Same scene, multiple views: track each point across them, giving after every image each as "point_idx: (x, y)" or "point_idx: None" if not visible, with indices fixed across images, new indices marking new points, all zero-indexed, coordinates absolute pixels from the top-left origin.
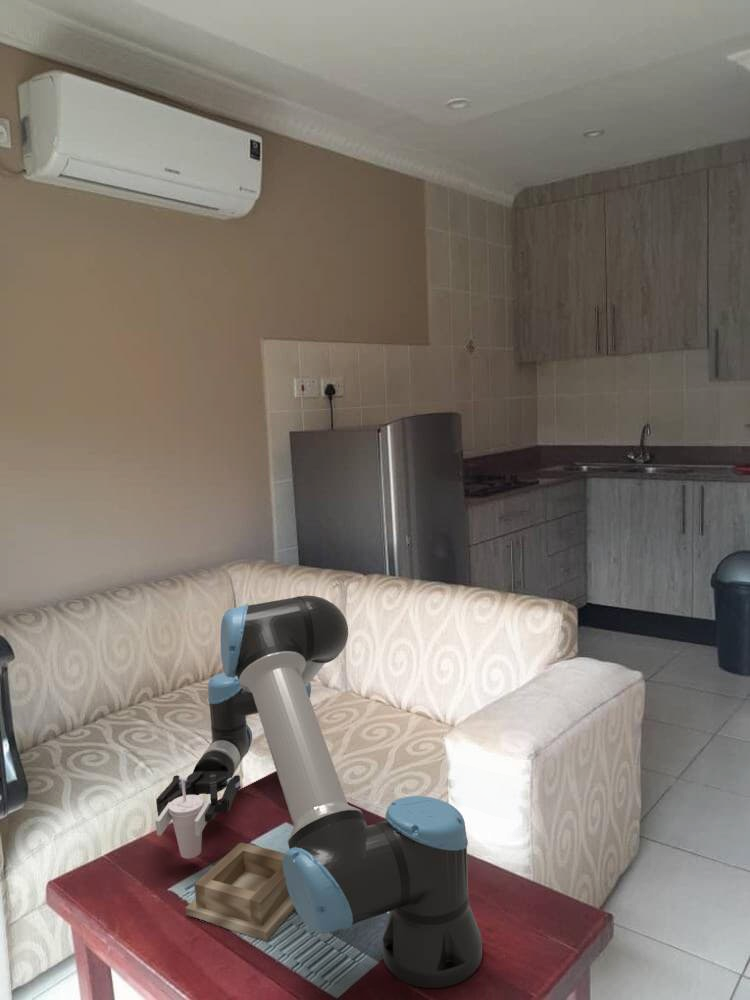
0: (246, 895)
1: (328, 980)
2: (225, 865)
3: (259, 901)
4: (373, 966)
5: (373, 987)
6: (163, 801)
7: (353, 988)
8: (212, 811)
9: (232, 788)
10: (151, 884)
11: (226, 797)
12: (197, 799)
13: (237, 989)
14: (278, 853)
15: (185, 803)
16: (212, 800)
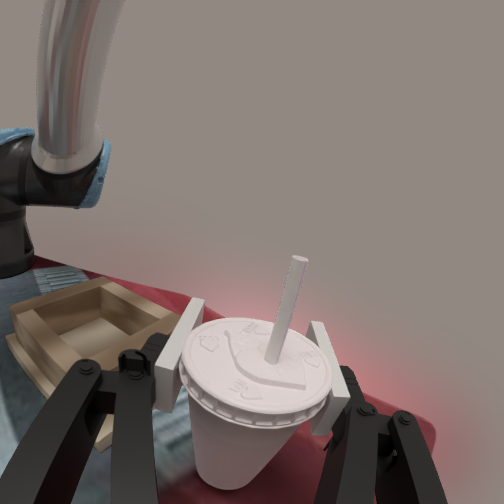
0: (114, 286)
1: (73, 272)
2: (131, 337)
3: (102, 276)
4: (38, 268)
5: (51, 261)
6: (386, 429)
7: (62, 264)
8: (146, 343)
9: (21, 449)
10: (294, 439)
11: (74, 375)
12: (215, 369)
13: (142, 285)
14: (30, 327)
15: (260, 345)
16: (141, 356)
